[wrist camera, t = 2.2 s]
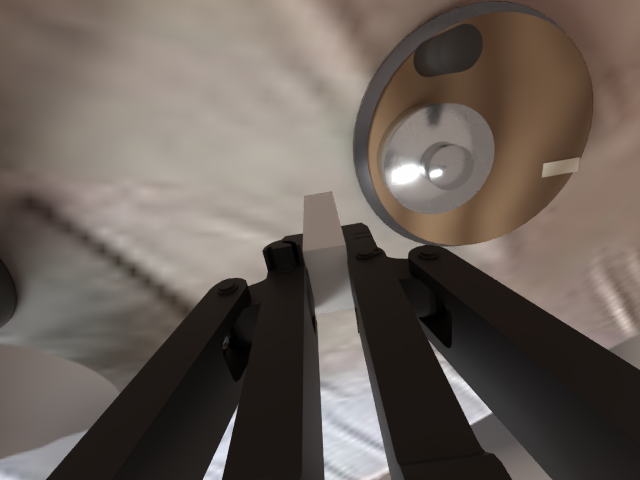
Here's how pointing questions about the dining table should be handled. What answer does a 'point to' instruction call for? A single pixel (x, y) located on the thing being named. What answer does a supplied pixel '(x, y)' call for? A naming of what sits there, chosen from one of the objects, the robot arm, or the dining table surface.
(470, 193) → the cover
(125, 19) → the dining table surface
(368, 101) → the turntable base
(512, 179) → the platter
